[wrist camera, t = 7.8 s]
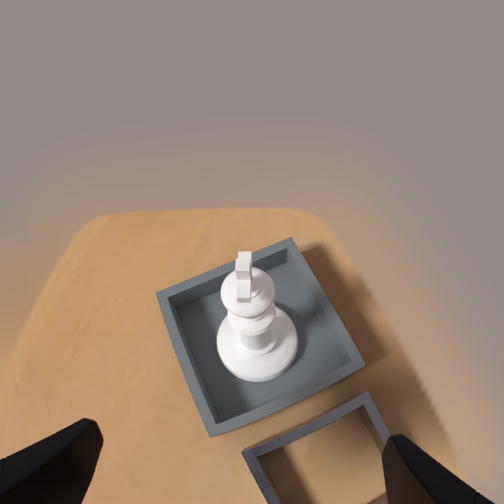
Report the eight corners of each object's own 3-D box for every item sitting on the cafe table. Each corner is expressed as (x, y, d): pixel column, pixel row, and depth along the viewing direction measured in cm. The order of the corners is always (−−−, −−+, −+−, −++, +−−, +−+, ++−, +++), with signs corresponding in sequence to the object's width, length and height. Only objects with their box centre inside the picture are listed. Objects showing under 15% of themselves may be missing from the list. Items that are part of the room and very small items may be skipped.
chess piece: (296, 304, 19) (314, 202, 11) (298, 381, 17) (327, 341, 8) (219, 304, 20) (177, 205, 11) (215, 380, 17) (155, 339, 8)
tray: (354, 371, 17) (366, 364, 15) (218, 435, 16) (210, 438, 14) (289, 256, 22) (291, 237, 20) (167, 307, 20) (155, 292, 18)
